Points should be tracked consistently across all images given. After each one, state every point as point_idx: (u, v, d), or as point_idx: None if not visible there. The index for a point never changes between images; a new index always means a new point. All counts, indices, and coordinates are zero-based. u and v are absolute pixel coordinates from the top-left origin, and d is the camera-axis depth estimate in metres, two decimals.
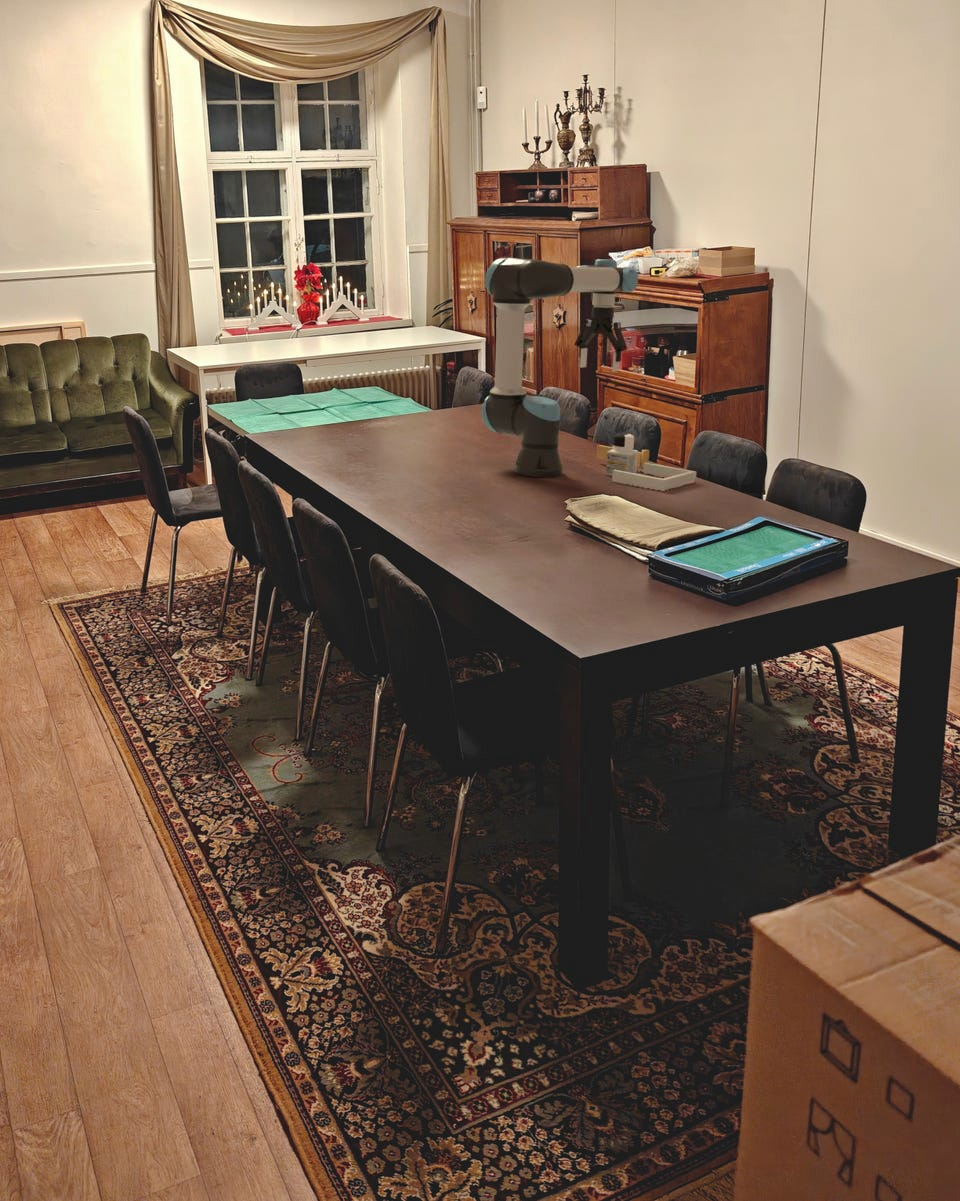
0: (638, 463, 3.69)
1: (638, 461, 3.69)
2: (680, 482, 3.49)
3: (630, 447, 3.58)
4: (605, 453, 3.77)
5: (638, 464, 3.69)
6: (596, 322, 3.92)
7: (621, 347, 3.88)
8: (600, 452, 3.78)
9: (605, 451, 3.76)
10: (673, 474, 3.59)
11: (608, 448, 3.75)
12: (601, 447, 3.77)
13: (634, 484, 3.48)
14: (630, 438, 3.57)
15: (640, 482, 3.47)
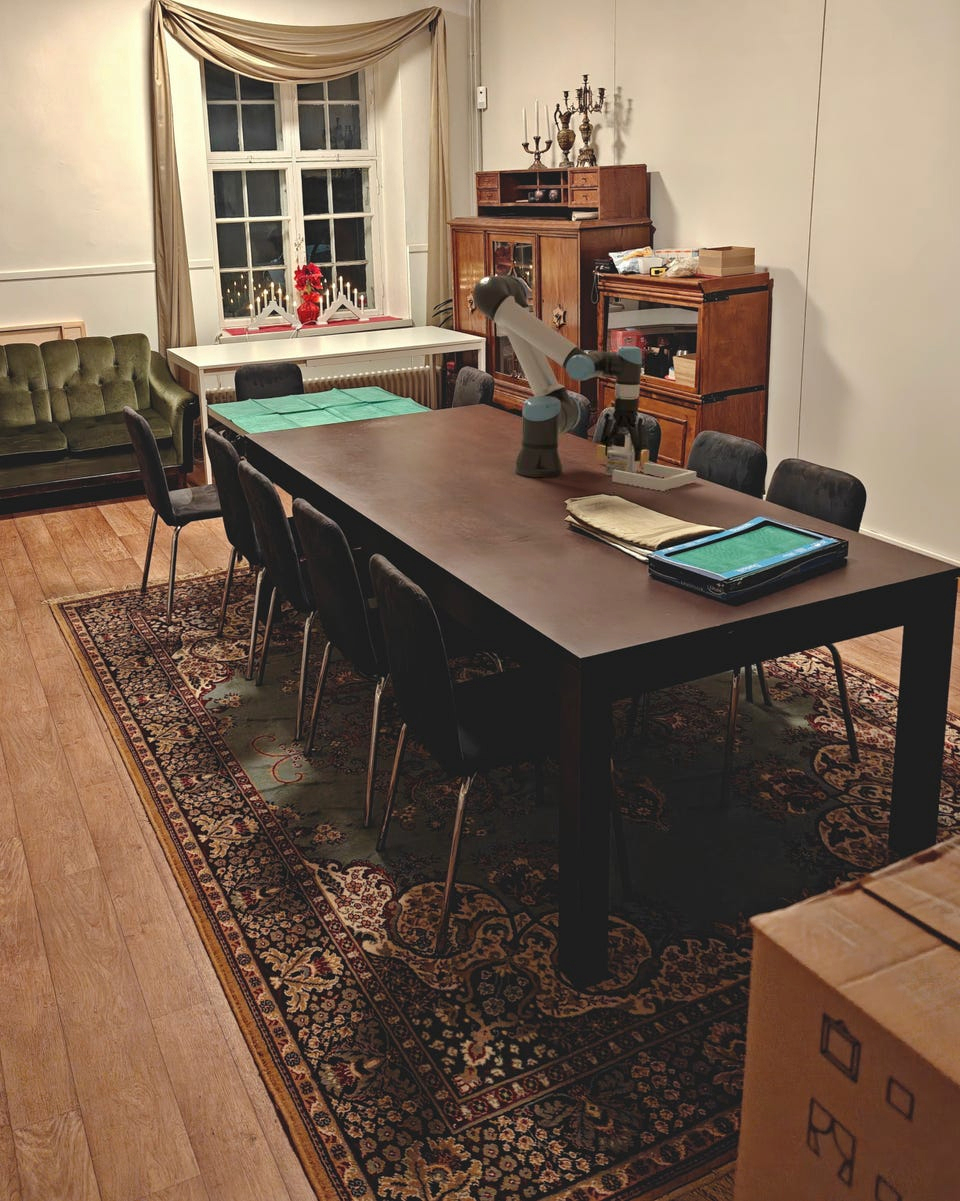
0: (638, 463, 3.69)
1: (638, 461, 3.69)
2: (680, 482, 3.49)
3: (630, 447, 3.58)
4: None
5: (638, 464, 3.69)
6: (619, 413, 3.58)
7: (641, 446, 3.55)
8: (600, 452, 3.78)
9: None
10: (673, 474, 3.59)
11: None
12: (601, 447, 3.77)
13: (634, 484, 3.48)
14: (630, 438, 3.57)
15: (640, 482, 3.47)
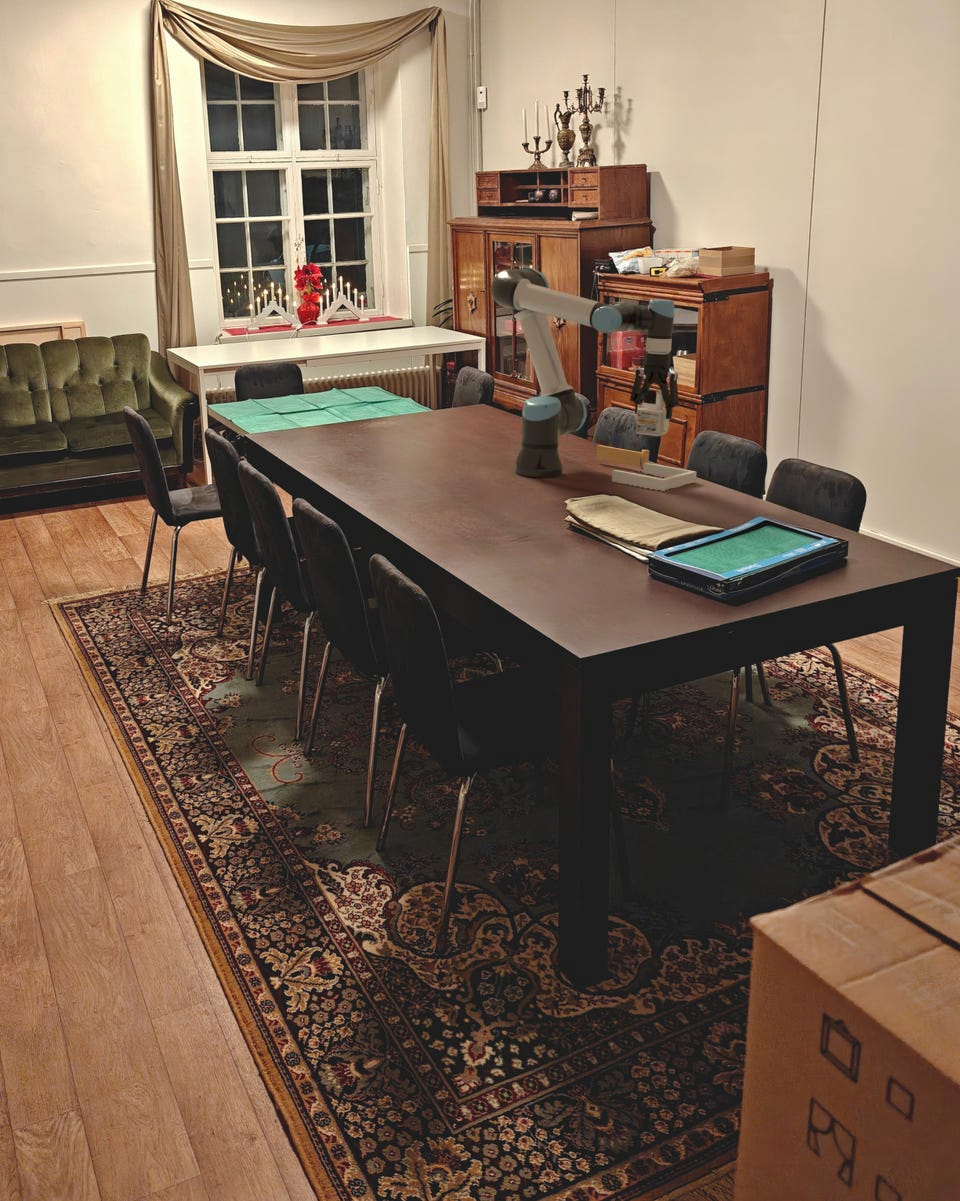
0: (638, 463, 3.69)
1: (638, 461, 3.69)
2: (680, 482, 3.49)
3: (661, 404, 3.46)
4: (605, 453, 3.77)
5: (638, 464, 3.69)
6: (650, 369, 3.45)
7: (673, 403, 3.43)
8: (600, 452, 3.78)
9: (605, 451, 3.76)
10: (673, 474, 3.59)
11: (608, 448, 3.75)
12: (601, 447, 3.77)
13: (634, 484, 3.48)
14: (661, 395, 3.45)
15: (640, 482, 3.47)
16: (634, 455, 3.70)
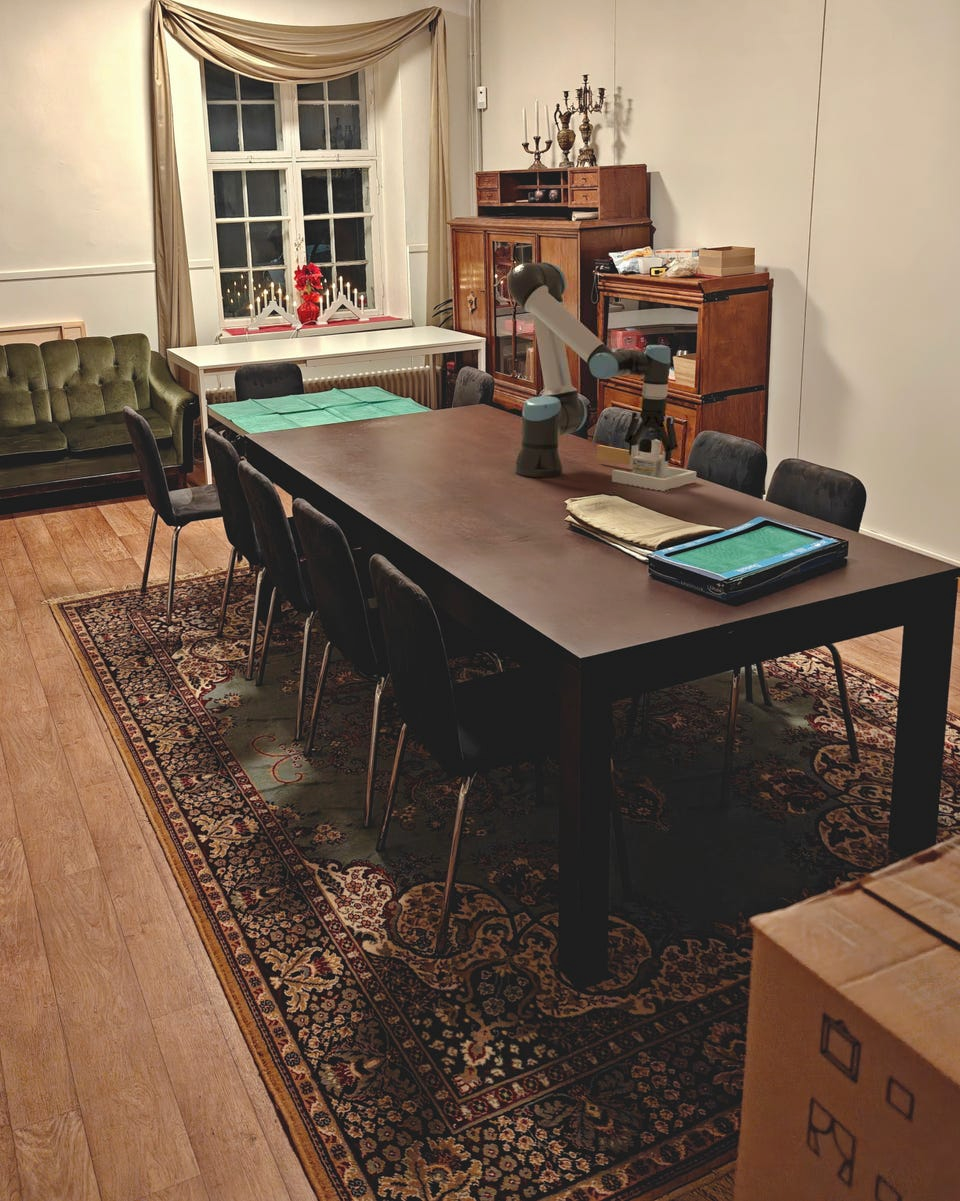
0: None
1: None
2: (680, 482, 3.49)
3: (657, 453, 3.51)
4: (605, 453, 3.77)
5: None
6: (646, 414, 3.50)
7: (672, 446, 3.46)
8: (600, 452, 3.78)
9: (605, 451, 3.76)
10: (673, 474, 3.59)
11: (608, 448, 3.75)
12: (601, 447, 3.77)
13: (634, 484, 3.48)
14: (657, 444, 3.50)
15: (640, 482, 3.47)
16: None
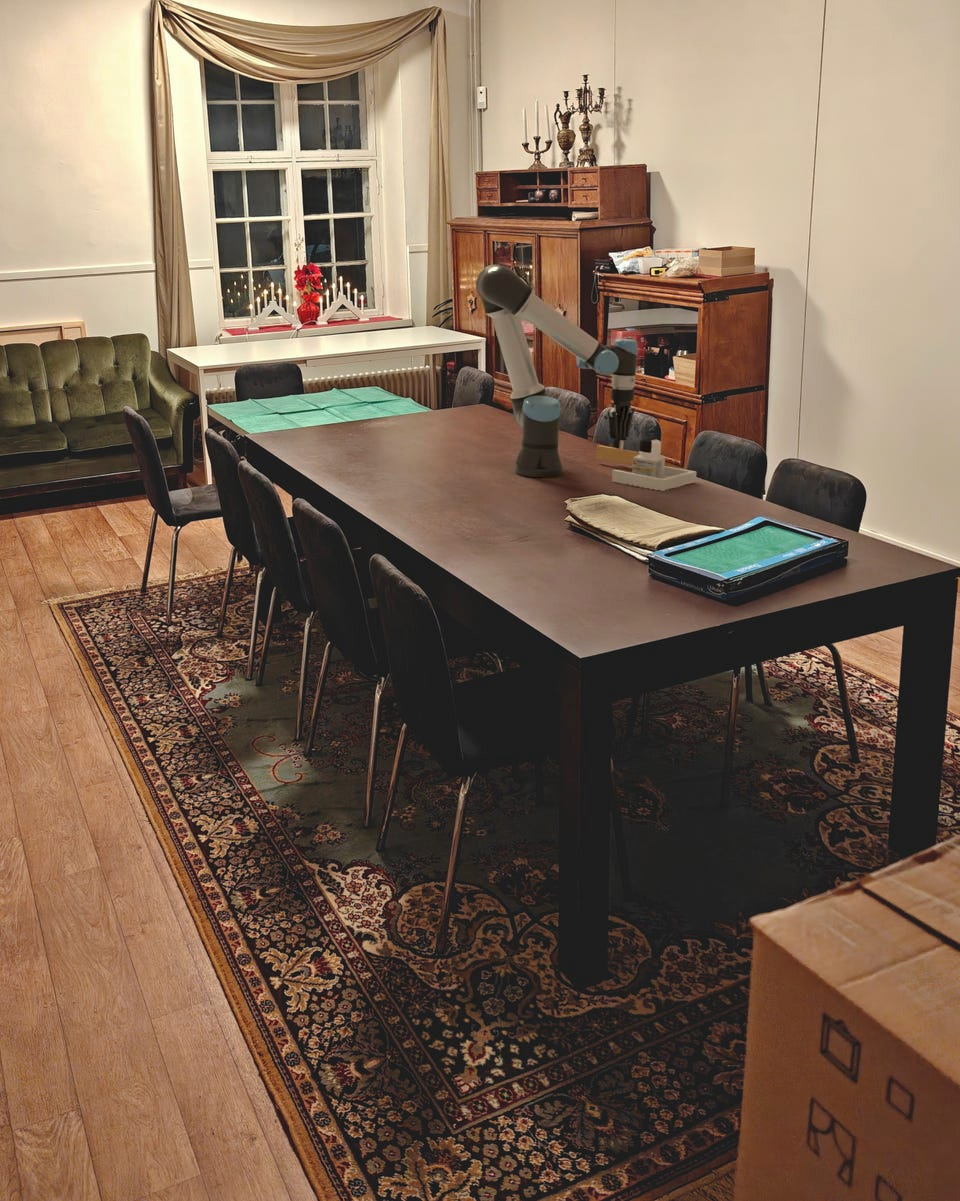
0: None
1: None
2: (680, 482, 3.49)
3: (657, 453, 3.51)
4: (605, 453, 3.77)
5: None
6: None
7: None
8: (600, 452, 3.78)
9: (605, 451, 3.76)
10: (673, 474, 3.59)
11: (608, 448, 3.75)
12: (601, 447, 3.77)
13: (634, 484, 3.48)
14: (657, 444, 3.50)
15: (640, 482, 3.47)
16: (634, 455, 3.70)
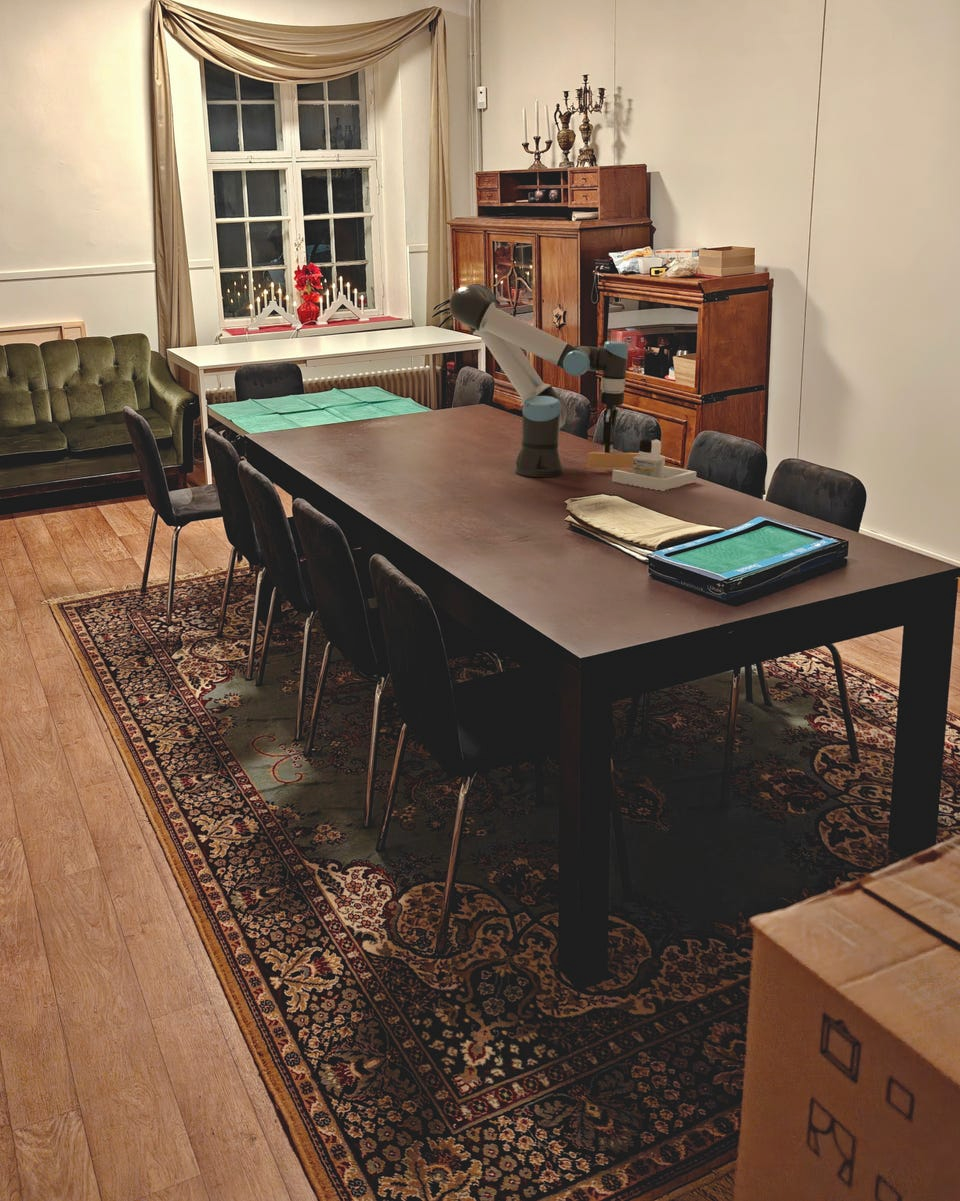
0: None
1: None
2: (680, 482, 3.49)
3: (657, 453, 3.51)
4: (599, 460, 3.66)
5: None
6: None
7: (603, 440, 3.64)
8: (593, 460, 3.65)
9: (599, 458, 3.65)
10: (673, 474, 3.59)
11: (603, 454, 3.65)
12: (594, 454, 3.65)
13: (634, 484, 3.48)
14: (657, 444, 3.50)
15: (640, 482, 3.47)
16: (633, 457, 3.67)
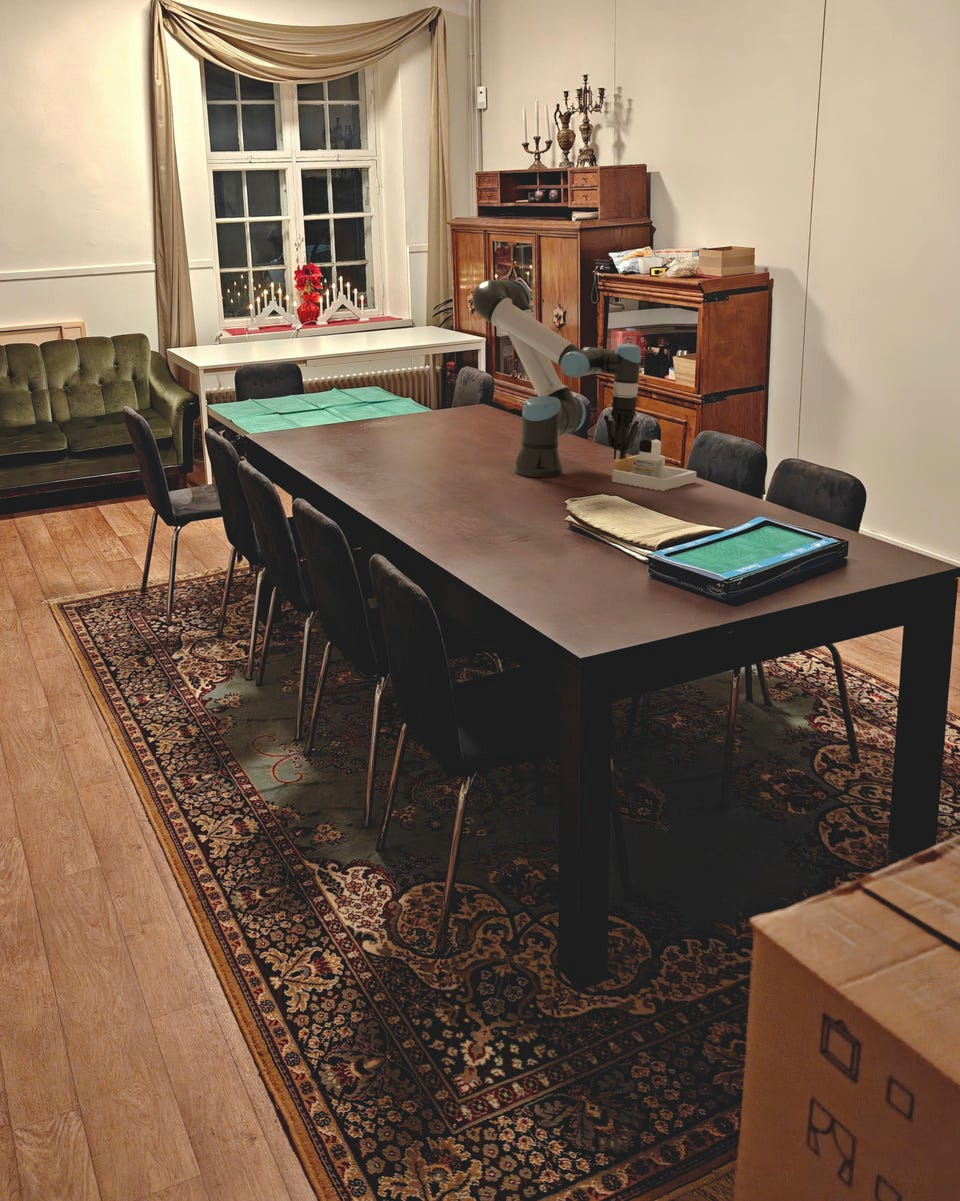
0: None
1: None
2: (680, 482, 3.49)
3: (657, 453, 3.51)
4: (622, 466, 3.56)
5: None
6: (616, 409, 3.56)
7: (627, 446, 3.56)
8: (619, 467, 3.55)
9: (622, 464, 3.56)
10: (673, 474, 3.59)
11: (624, 460, 3.56)
12: (619, 462, 3.54)
13: (634, 484, 3.48)
14: (657, 444, 3.50)
15: (640, 482, 3.47)
16: None
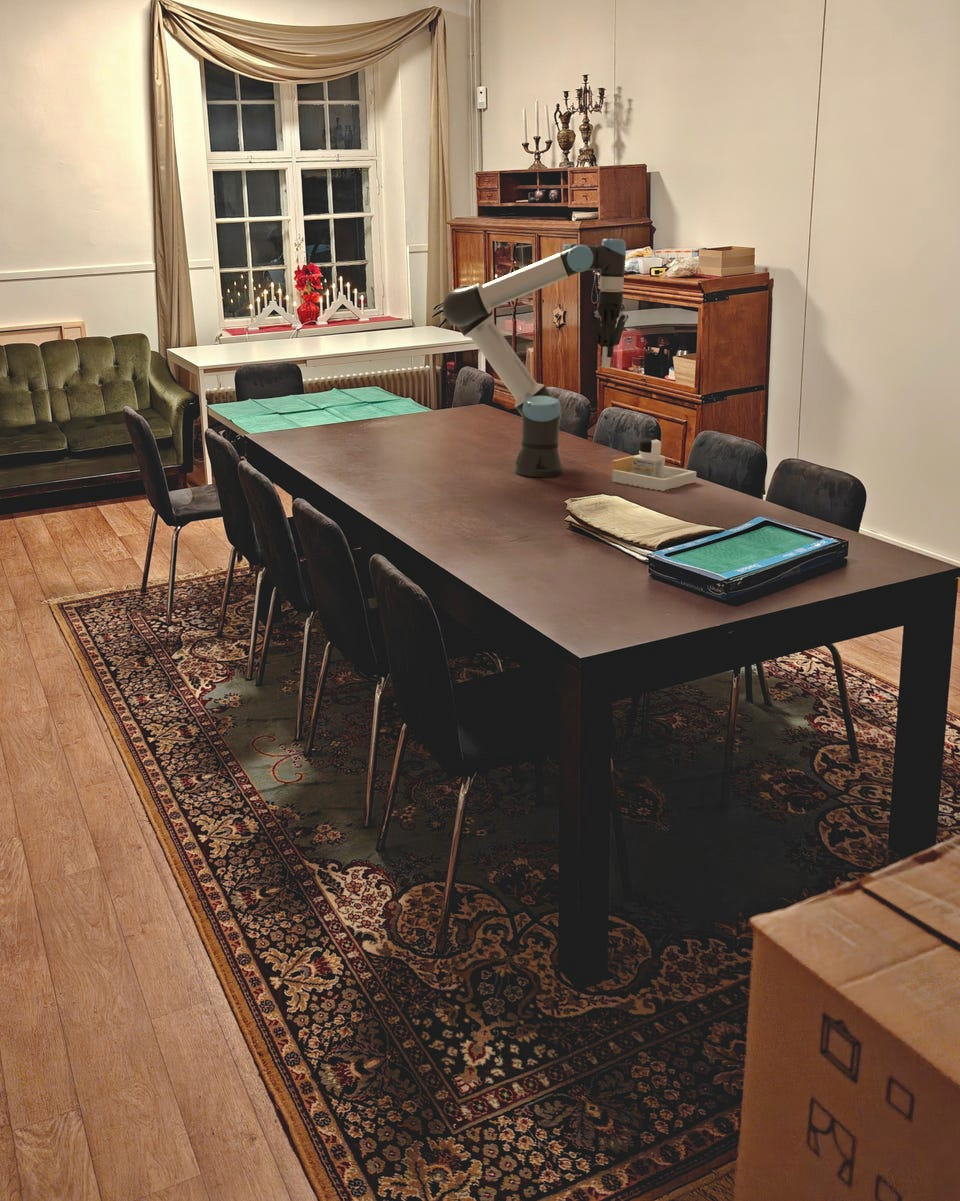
0: None
1: None
2: (680, 482, 3.49)
3: (657, 453, 3.51)
4: (620, 466, 3.57)
5: None
6: (602, 305, 3.57)
7: (614, 341, 3.57)
8: (617, 467, 3.55)
9: (620, 464, 3.56)
10: (673, 474, 3.59)
11: (623, 460, 3.57)
12: (618, 461, 3.55)
13: (634, 484, 3.48)
14: (657, 444, 3.50)
15: (640, 482, 3.47)
16: None
